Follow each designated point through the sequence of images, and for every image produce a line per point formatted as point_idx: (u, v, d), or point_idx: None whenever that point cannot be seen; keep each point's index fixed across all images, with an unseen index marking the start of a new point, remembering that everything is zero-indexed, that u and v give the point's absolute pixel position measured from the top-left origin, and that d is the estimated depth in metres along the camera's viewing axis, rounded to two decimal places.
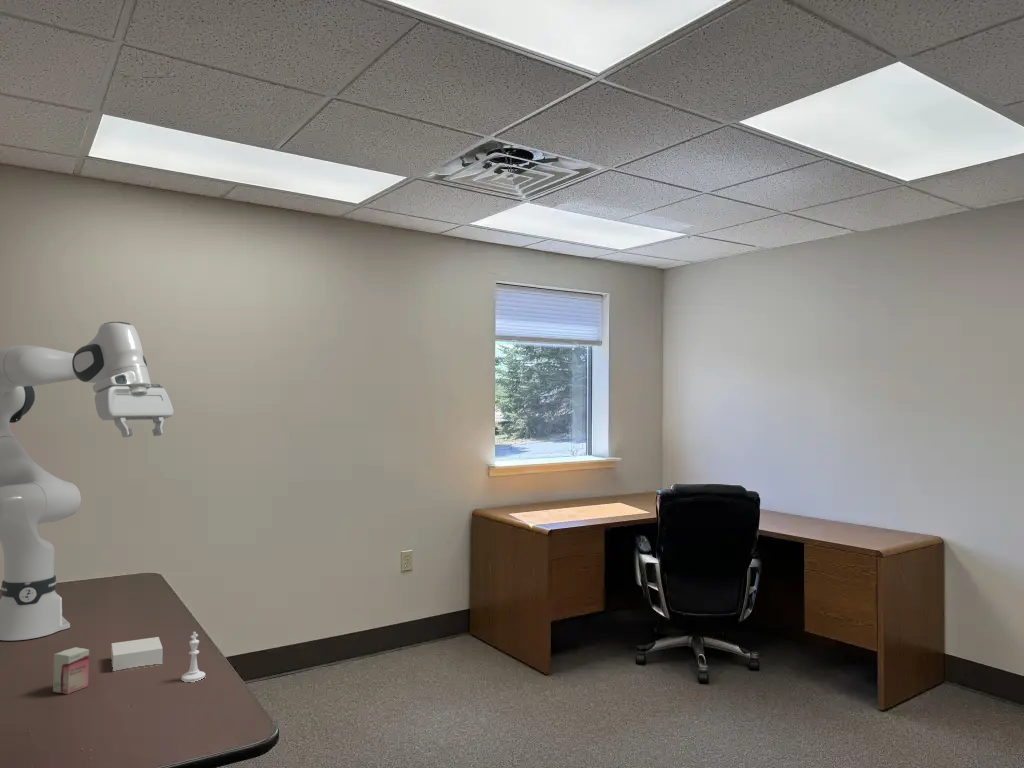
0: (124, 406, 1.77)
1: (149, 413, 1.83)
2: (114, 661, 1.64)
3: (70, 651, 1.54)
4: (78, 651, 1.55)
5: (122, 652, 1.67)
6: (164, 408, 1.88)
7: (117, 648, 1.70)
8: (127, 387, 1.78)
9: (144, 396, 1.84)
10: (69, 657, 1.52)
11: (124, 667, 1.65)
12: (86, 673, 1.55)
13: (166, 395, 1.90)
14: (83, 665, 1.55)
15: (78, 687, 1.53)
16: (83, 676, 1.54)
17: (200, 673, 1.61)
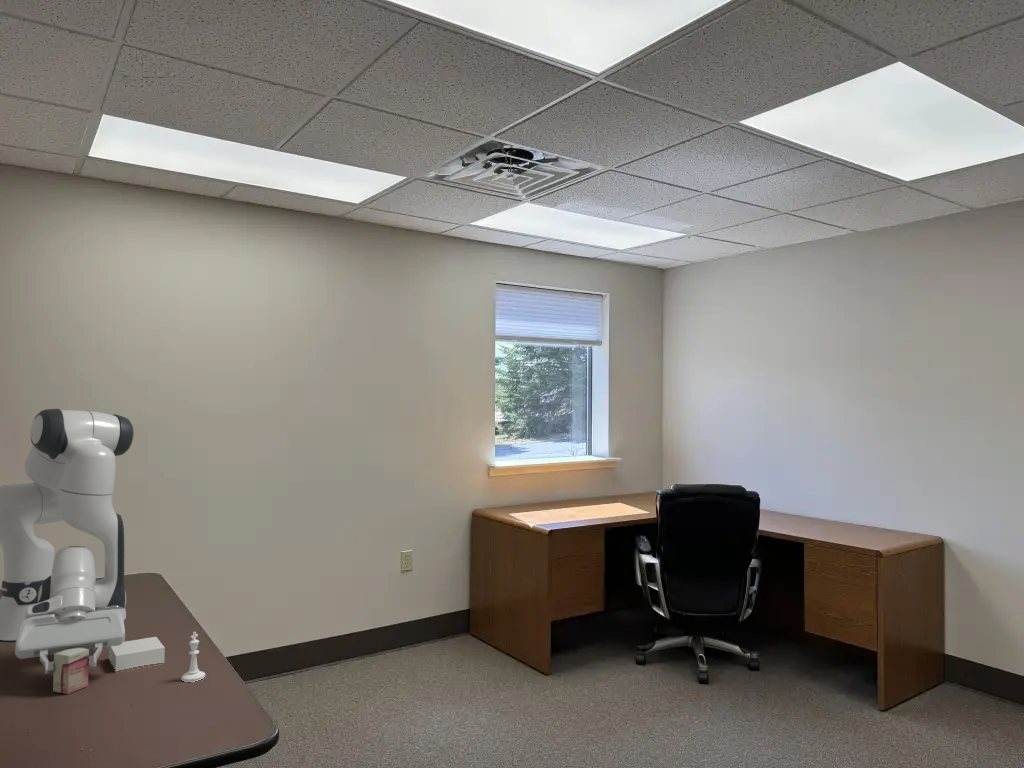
0: (42, 637, 1.54)
1: (81, 640, 1.57)
2: (117, 661, 1.64)
3: (70, 651, 1.54)
4: (77, 650, 1.55)
5: (124, 652, 1.67)
6: (109, 631, 1.60)
7: (117, 648, 1.69)
8: (50, 615, 1.57)
9: (82, 621, 1.60)
10: (69, 657, 1.52)
11: (127, 667, 1.65)
12: (86, 673, 1.55)
13: (117, 615, 1.63)
14: (83, 665, 1.55)
15: (78, 687, 1.53)
16: (83, 676, 1.54)
17: (200, 673, 1.61)
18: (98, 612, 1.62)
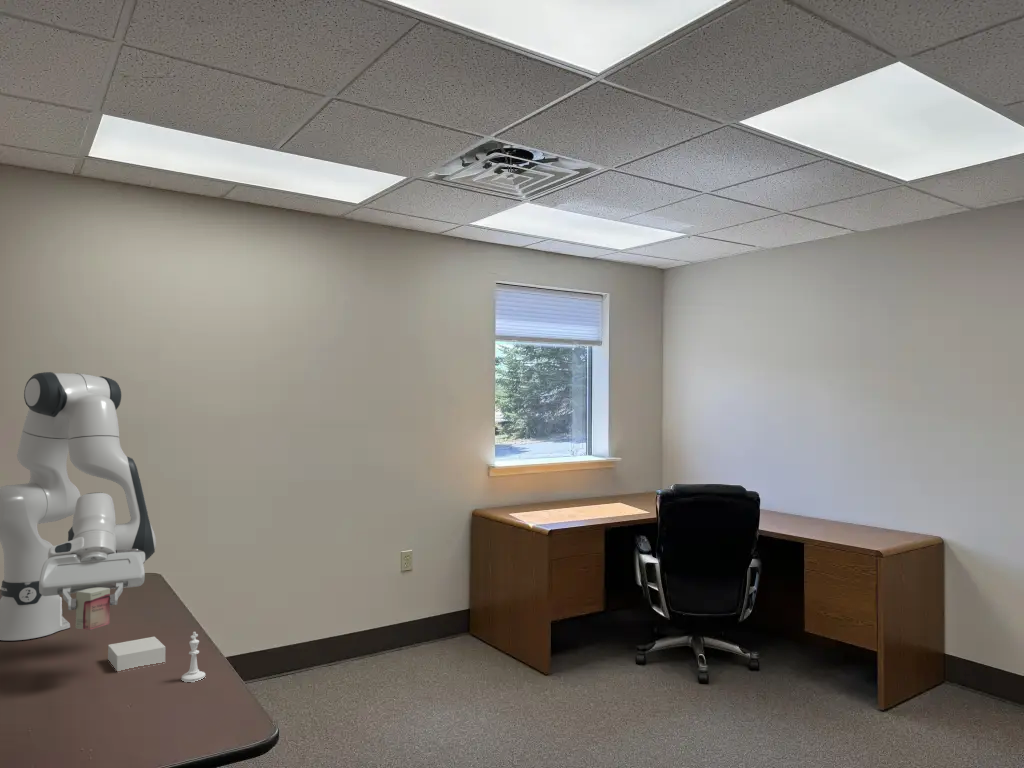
0: (65, 575, 1.59)
1: (102, 579, 1.61)
2: (118, 661, 1.64)
3: (92, 589, 1.58)
4: (99, 589, 1.59)
5: (125, 652, 1.67)
6: (129, 571, 1.64)
7: (117, 648, 1.69)
8: (72, 555, 1.62)
9: (103, 562, 1.64)
10: (90, 594, 1.56)
11: (128, 667, 1.65)
12: (107, 611, 1.59)
13: (137, 557, 1.68)
14: (105, 603, 1.59)
15: (100, 624, 1.58)
16: (104, 614, 1.59)
17: (200, 673, 1.61)
18: (118, 554, 1.67)
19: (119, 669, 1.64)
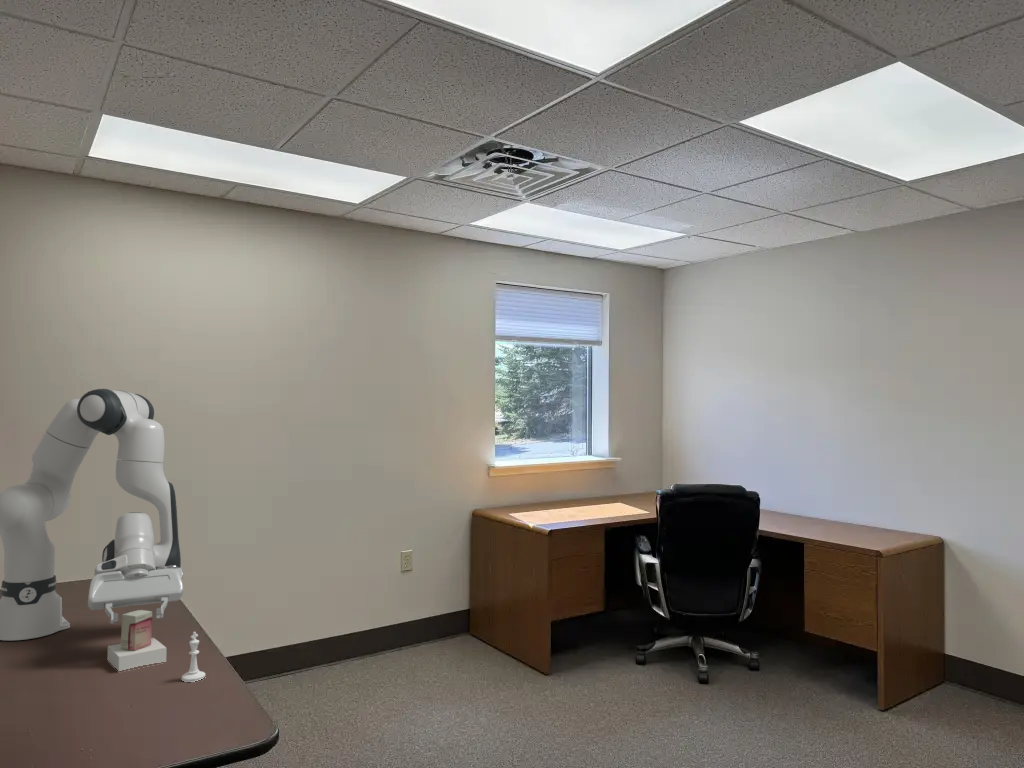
0: (111, 591, 1.72)
1: (145, 594, 1.74)
2: (120, 662, 1.64)
3: (136, 612, 1.71)
4: (142, 612, 1.72)
5: (126, 653, 1.67)
6: (169, 587, 1.77)
7: (118, 649, 1.69)
8: (117, 572, 1.74)
9: (145, 578, 1.77)
10: (135, 617, 1.69)
11: (129, 668, 1.66)
12: (150, 633, 1.72)
13: (176, 574, 1.81)
14: (148, 625, 1.72)
15: (143, 645, 1.70)
16: (147, 635, 1.71)
17: (200, 673, 1.61)
18: (159, 570, 1.80)
19: (120, 670, 1.64)
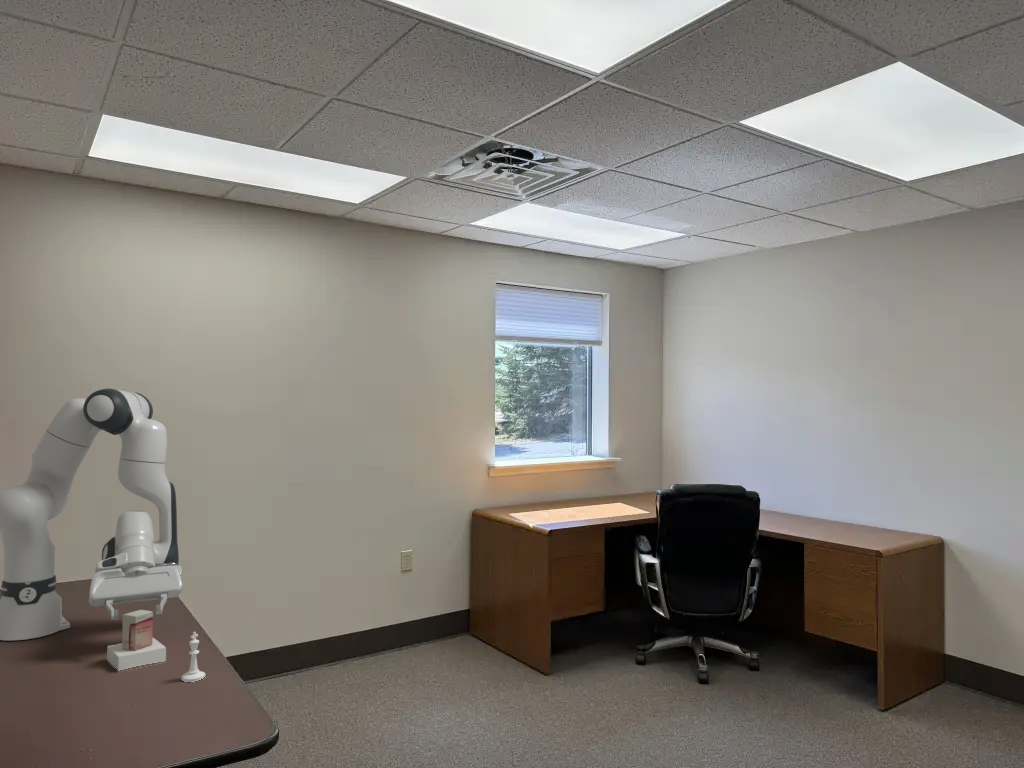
0: (112, 588, 1.76)
1: (145, 591, 1.78)
2: (119, 662, 1.64)
3: (136, 612, 1.71)
4: (143, 612, 1.72)
5: (126, 653, 1.67)
6: (168, 584, 1.81)
7: (117, 650, 1.69)
8: (117, 569, 1.78)
9: (145, 575, 1.81)
10: (135, 617, 1.69)
11: None
12: (150, 633, 1.72)
13: (175, 571, 1.84)
14: (148, 625, 1.72)
15: (144, 645, 1.71)
16: (147, 635, 1.72)
17: (200, 673, 1.61)
18: (158, 568, 1.84)
19: None
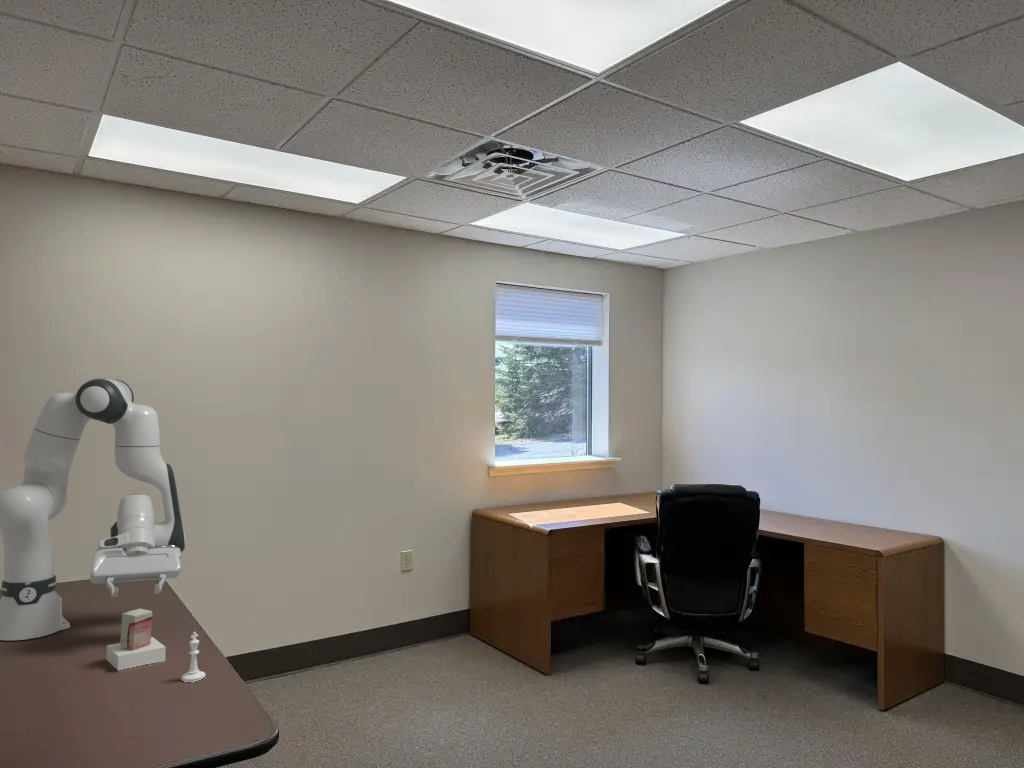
0: (113, 566, 1.81)
1: (145, 570, 1.83)
2: (119, 662, 1.65)
3: (136, 612, 1.71)
4: (142, 612, 1.72)
5: (125, 652, 1.67)
6: (167, 565, 1.87)
7: (117, 649, 1.69)
8: (118, 548, 1.84)
9: (145, 555, 1.87)
10: (135, 617, 1.69)
11: (128, 667, 1.66)
12: (149, 632, 1.72)
13: (174, 553, 1.90)
14: (147, 625, 1.72)
15: (142, 644, 1.71)
16: (146, 635, 1.72)
17: (200, 673, 1.61)
18: (158, 549, 1.89)
19: (120, 669, 1.65)
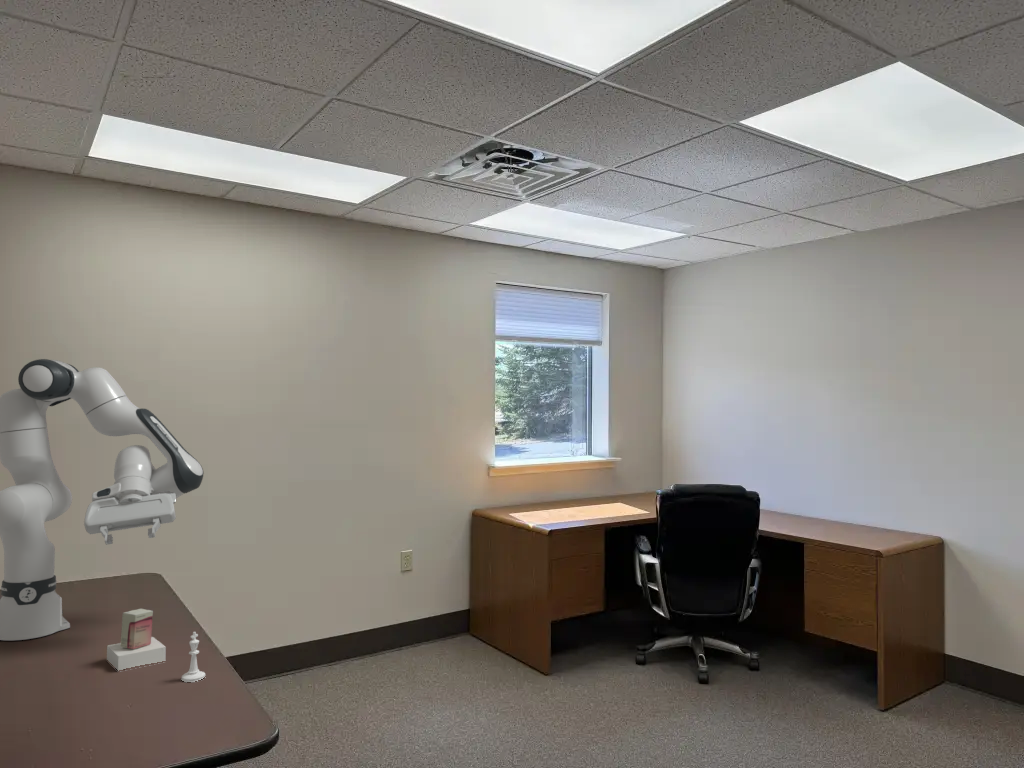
0: (106, 515, 1.81)
1: (137, 517, 1.82)
2: (119, 662, 1.65)
3: (136, 611, 1.72)
4: (143, 611, 1.72)
5: (126, 652, 1.67)
6: (160, 509, 1.85)
7: (117, 649, 1.69)
8: (111, 498, 1.84)
9: (138, 503, 1.86)
10: (135, 616, 1.69)
11: (129, 667, 1.66)
12: (149, 632, 1.72)
13: (167, 497, 1.88)
14: (148, 624, 1.72)
15: (142, 644, 1.71)
16: (146, 634, 1.72)
17: (200, 673, 1.61)
18: (151, 495, 1.88)
19: (120, 669, 1.65)
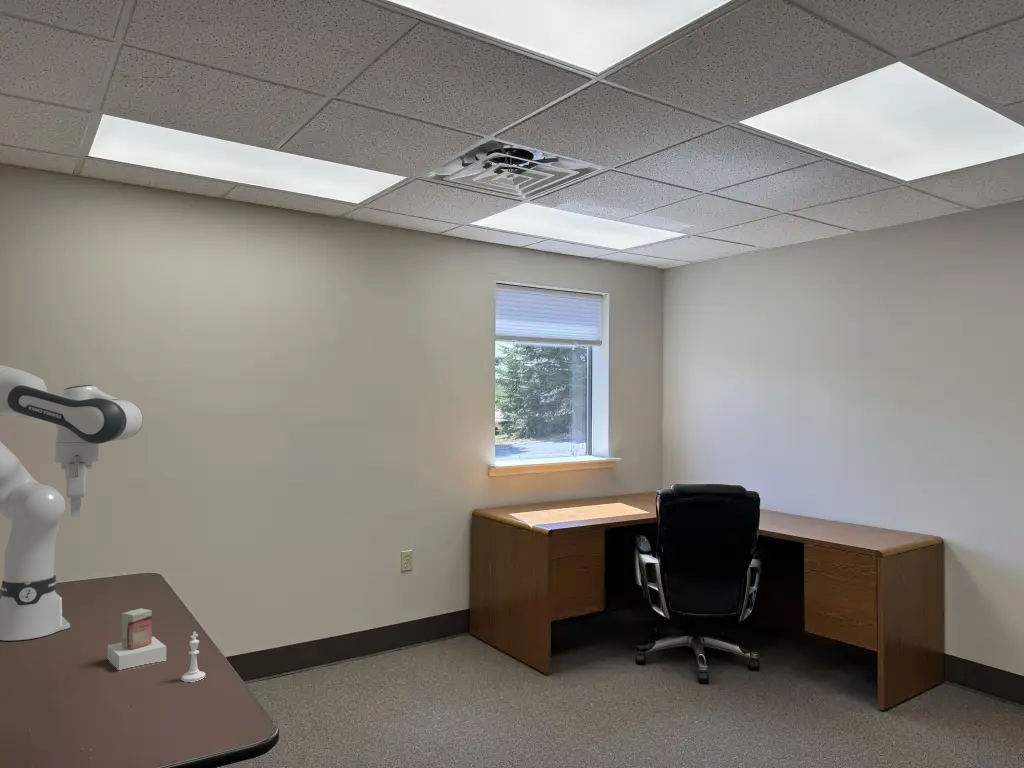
0: None
1: None
2: (120, 661, 1.65)
3: (135, 611, 1.72)
4: (141, 611, 1.72)
5: (126, 652, 1.67)
6: None
7: (118, 649, 1.69)
8: None
9: None
10: (133, 616, 1.69)
11: (129, 667, 1.66)
12: (149, 631, 1.73)
13: (67, 473, 1.65)
14: (147, 624, 1.72)
15: (142, 643, 1.71)
16: (146, 634, 1.72)
17: (200, 673, 1.61)
18: None
19: (121, 669, 1.65)
